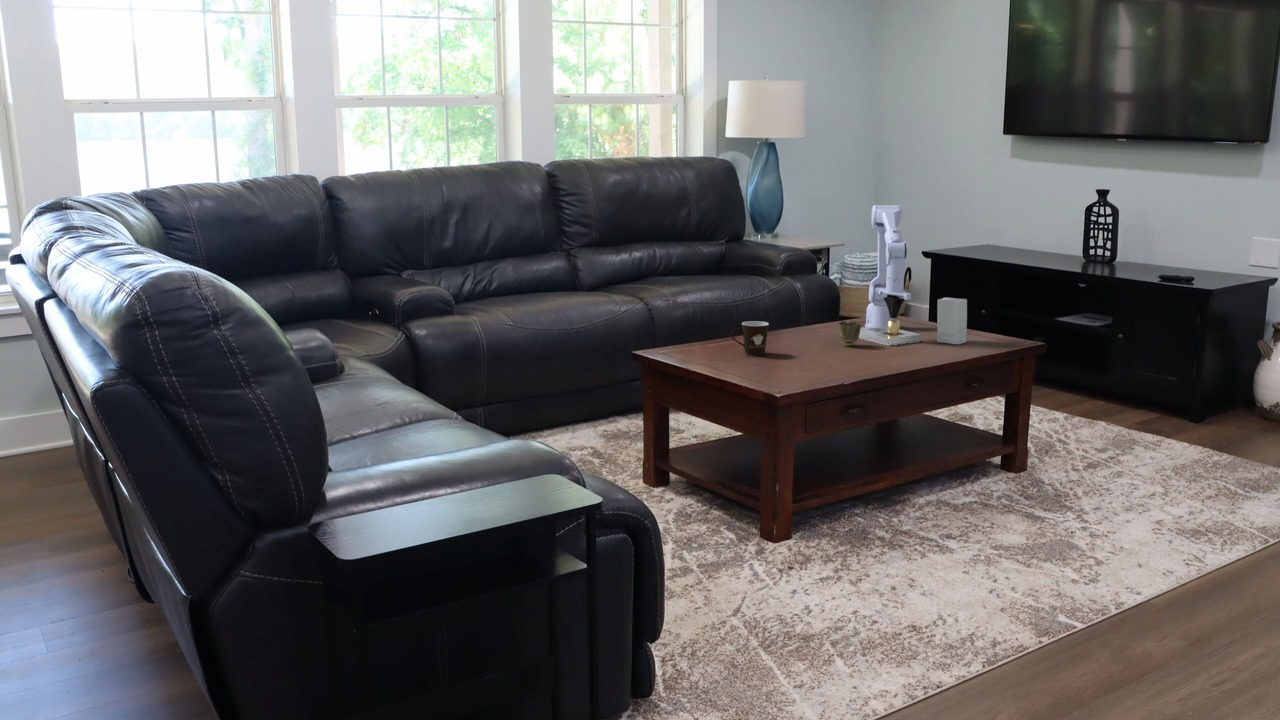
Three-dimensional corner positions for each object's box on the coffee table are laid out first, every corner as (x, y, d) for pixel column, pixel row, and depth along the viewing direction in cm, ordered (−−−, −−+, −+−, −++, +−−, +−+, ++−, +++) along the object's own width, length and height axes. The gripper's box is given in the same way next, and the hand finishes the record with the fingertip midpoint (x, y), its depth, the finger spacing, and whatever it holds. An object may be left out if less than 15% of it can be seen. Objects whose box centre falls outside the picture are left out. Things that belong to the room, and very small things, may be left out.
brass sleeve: (884, 340, 373) (885, 320, 371) (893, 339, 375) (894, 319, 373) (892, 342, 369) (893, 322, 368) (901, 341, 371) (902, 320, 370)
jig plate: (849, 336, 381) (850, 328, 380) (880, 331, 387) (881, 325, 387) (888, 346, 364) (889, 338, 363) (920, 341, 370) (920, 334, 370)
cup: (859, 343, 368) (860, 320, 366) (861, 348, 360) (862, 324, 359) (836, 343, 368) (837, 320, 367) (838, 348, 361) (839, 324, 359)
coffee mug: (770, 351, 356) (770, 321, 354) (765, 357, 348) (766, 326, 346) (735, 350, 360) (735, 320, 357) (729, 355, 351) (730, 325, 349)
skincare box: (966, 342, 368) (969, 299, 365) (957, 345, 364) (959, 301, 361) (944, 339, 374) (946, 296, 371) (935, 341, 370) (937, 298, 366)
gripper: (919, 279, 363) (917, 320, 366) (890, 274, 375) (889, 313, 378) (902, 281, 360) (900, 322, 363) (874, 276, 372) (872, 315, 375)
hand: (893, 317), depth 370 cm, fingers closed
